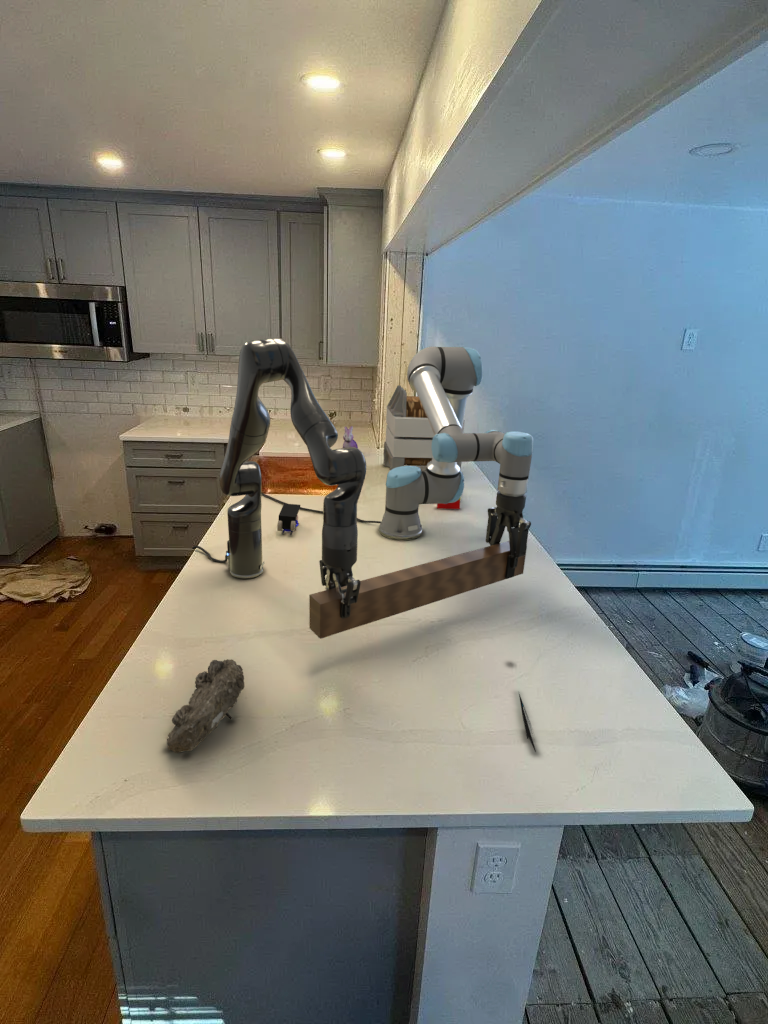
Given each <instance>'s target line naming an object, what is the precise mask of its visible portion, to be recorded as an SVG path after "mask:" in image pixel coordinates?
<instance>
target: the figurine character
mask: <svg viewBox="0 0 768 1024" xmlns="http://www.w3.org/2000/svg"><path fill="white" fill-rule="evenodd" d="M300 507H301V504H295V503H288V504H282V507H281V509H280V512H279V514H278V521H277V526H276V529H277V531H278V532H281V535H283V536H284V535H285V532H287V533H289V532H290V533H289V535H290V536H293V533H294V532H295V531H297V527H299V526H300V523H299V514H298V513H299V512H300V510H301V509H300Z"/></svg>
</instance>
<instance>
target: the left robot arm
mask: <svg viewBox="0 0 768 1024" xmlns="http://www.w3.org/2000/svg"><path fill="white" fill-rule="evenodd" d="M238 357H239V358H238V368H237V384H236V394H235V401H234V407H233V412H232V414H231V415H232V416H231V420H230V427H229V434H228V440H227V446H226V450H225V454H224V457H223V460H222V463H221V466H220V471H219V478H218V480H219V487H220V490H221V491H222V494H223V495H225V496H227V497H240V496H244V497H243V498H242V499H240V500H239V501H236V502H235V503H233V504H231V505H230V506H229V507H228V508H227V511H226V512H227V513H226V514H227V529H228V531H227V533H228V540H227V541H226V548H227V550H226V551H225V555H224V560H220V559H216V558H215V557H212V555H211V554H210V553H209V551H207V550H206V549H205V548H203V547H202V546H200V545H194V546H192V548H191V549H192V550H195V549H199V550H201V552H203V553H204V554H206V555H207V556H208V559H210V560H211V561H213V562H215V563H220V564H225V563H227V566H228V571H229V573H230V575H231V576H232V577H233V578H237V579H244V580H245V579H246V580H247V579H254V578H257V577H259V576H261V575H262V574H263V572H264V565H265V561H264V560H263V537H262V536H263V535H262V533H263V532H262V495H261V493H262V490H263V480H262V479H263V478H262V477H263V475H262V470H261V467H260V465H259V463H258V462H256V461H255V460H249V459H250V458H251V457H252V456H253V455H255V454H256V453H257V452H258V451H259V450H260V449H262V447H263V446H264V445H265V443H266V441H267V438H268V435H269V431H270V426H271V416H270V413H269V411H268V408H267V407H266V405H265V403H263V401H262V400H261V399H260V397H259V390H260V387H261V386H262V385H263V384H266V383H271V382H278V381H284V382H285V383H286V384H287V386H288V387H289V389H290V395H291V396H290V406H289V407H290V409H289V412H290V420H291V422H292V425H293V427H294V429H295V430H296V433H298V435H299V437H300V438H301V439H302V441H303V443H304V444H305V445H306V448H307V451H308V455H309V457H310V461H311V463H312V468H313V472H314V474H315V476H316V478H317V480H319V482H321V483H323V484H324V485H326V486H330V487H333V486H337V487H336V488H335V489H334V490H333V491H331V492H329V493H327V494H326V495H325V497H324V498H323V505H322V506H323V507H322V511H323V513H322V529H321V559H320V560H319V561H318V563H319V571H320V581H321V586H323V587H324V586H325V587H324V588H325V590H329V589H332V588H336V591H337V593H338V594H339V596H340V602H341V603H340V617H341V618H342V619H344V618H347V617H349V616H350V610H351V604H353V603H357V600H358V595H359V590H360V584H361V583H360V581H361V580H360V579H355V578H354V573H353V566H354V565H355V564H356V563H357V561H358V540H359V539H358V537H359V536H358V535H359V534H358V533H359V529H358V520H357V518H358V502H359V499H360V496H361V493H362V489H363V487H364V482H365V480H366V476H367V461H366V458H365V455H364V453H363V452H362V451H361V449H360V448H359V447H358V448H355V447H346V448H343V447H340V448H335V449H332V447H333V446H334V445H335V444H336V443H337V441H338V438H339V433H338V430H337V428H336V427H335V425H334V424H333V422H332V421H331V420H330V418H329V417H328V415H327V414H326V412H325V410H323V408H322V406H321V405H320V403H319V402H318V400H317V398H316V396H315V394H314V393H313V390H312V388H311V386H310V383H309V381H308V379H307V376H306V374H305V373H304V370H303V369H302V366H301V364H300V362H299V359H298V358H297V356H296V354H295V352H294V350H293V348H292V347H291V345H290V344H289V343H288V341H287V340H286V339H284V338H282V337H270V338H269V337H267V338H261V339H253V340H249V341H246V342H245V343H244V344H243V345H242V346H241V349H240V351H239V356H238ZM344 586H346V587H347V588H344V589H341V587H344ZM344 593H346V596H345V598H344ZM352 596H353V597H352Z"/></svg>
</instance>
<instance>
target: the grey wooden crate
mask: <svg viewBox="0 0 768 1024" xmlns="http://www.w3.org/2000/svg"><path fill="white" fill-rule="evenodd" d="M407 394H408V393H407V390H406V389H404V388H403V387H402V385H399V384H398V385H397V386H396V388H395V390H394V392H393V394H392V395H391V398H390V400H389V402H388V404H387V405H386V413H385V414H386V415H385V423H386V428H385V438H384V442H383V466H384V467H388V468H389V471H390V470H392V469H394V468H397V467H401V466H416V467H427V464H428V463H429V462H430V461H432V449H431V445H432V439H433V437H434V436H435V435H434V432H433V430H432V428H431V425H430V423H429V421H428V418H427V416H426V414H425V411H424V409H423V406H422V404H421V402H420V399H419V397H418V395H417V396H415V395H414V396H413V395H412V396H411V395H407ZM464 429H465V419H464V420H463V426H462V430H463V431H464V432H465V430H464ZM457 465H458V466H459V467H460V471H461V472H462V462H457Z"/></svg>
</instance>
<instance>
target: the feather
mask: <svg viewBox="0 0 768 1024" xmlns="http://www.w3.org/2000/svg"><path fill="white" fill-rule="evenodd" d="M517 692H518V696H519V702H520V707H521V714H522V721H523V724H524V730H525V736H526V740H529V741H530V743H531V745H532V747H533V750H534V752H535V753H536V752H537V750H536V748H535V743H534V740H533V738H535V735H534V734H535V733H534V729H533V728H532V726H531V725H532V724H531V721H530V718H529V715H528V714H527V710H526V707H525V705H524V702H523V699H522V697H521V694H520V691H517ZM529 726H530V727H529ZM531 733H532V734H531ZM532 736H533V737H532Z"/></svg>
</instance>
